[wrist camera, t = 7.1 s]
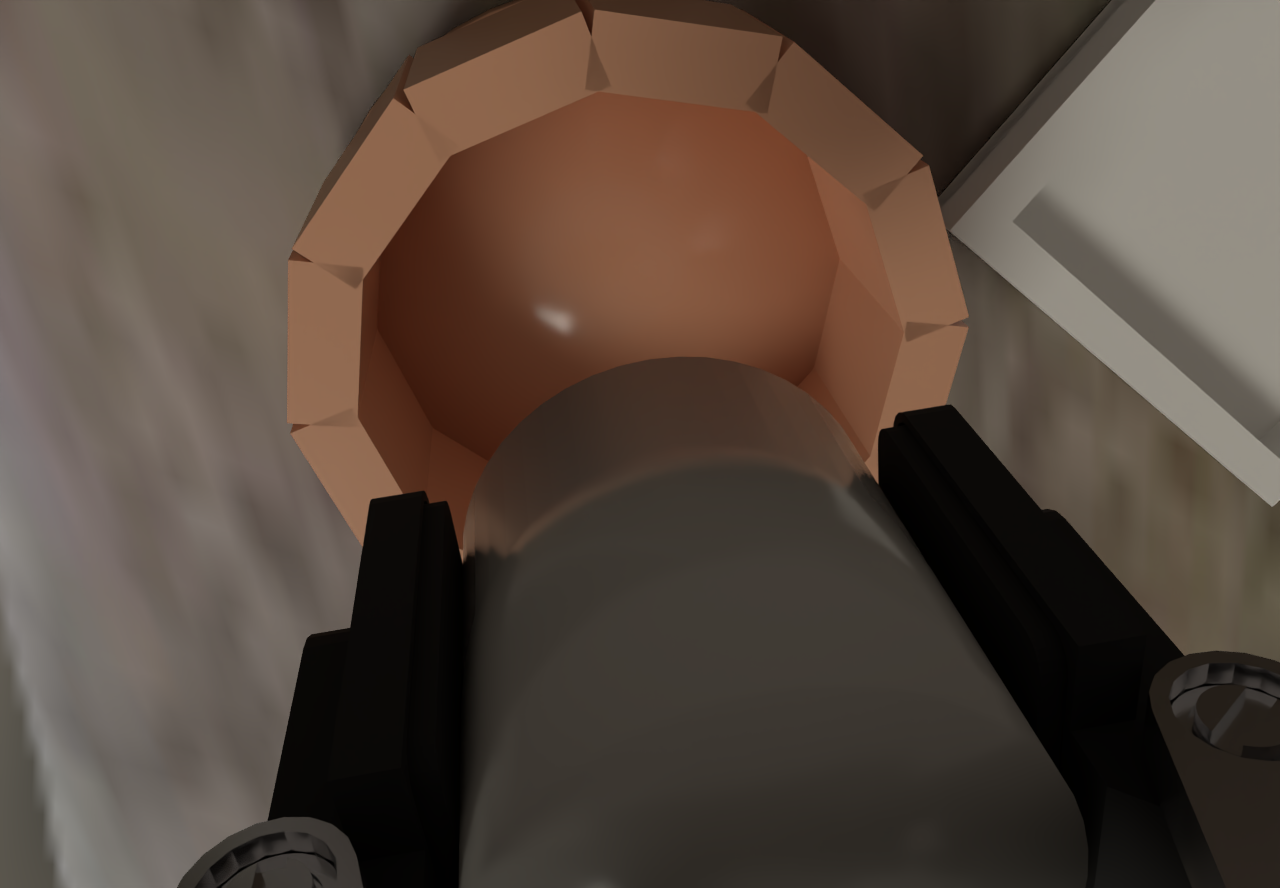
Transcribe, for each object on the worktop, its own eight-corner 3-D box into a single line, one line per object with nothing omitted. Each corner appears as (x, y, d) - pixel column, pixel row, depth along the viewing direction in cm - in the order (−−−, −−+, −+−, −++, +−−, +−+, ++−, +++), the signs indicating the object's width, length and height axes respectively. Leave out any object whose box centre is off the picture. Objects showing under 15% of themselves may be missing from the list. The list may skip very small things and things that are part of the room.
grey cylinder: (952, 498, 12) (1211, 852, 8) (696, 758, 14) (799, 1183, 9) (638, 271, 11) (752, 567, 6) (380, 594, 12) (328, 1022, 8)
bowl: (981, 221, 21) (1090, 302, 17) (648, 590, 24) (680, 728, 20) (547, -157, 17) (566, -159, 13) (217, 336, 20) (156, 448, 16)
